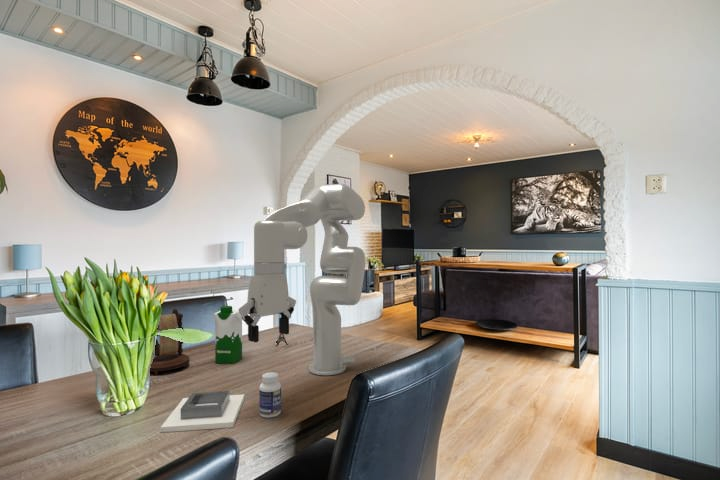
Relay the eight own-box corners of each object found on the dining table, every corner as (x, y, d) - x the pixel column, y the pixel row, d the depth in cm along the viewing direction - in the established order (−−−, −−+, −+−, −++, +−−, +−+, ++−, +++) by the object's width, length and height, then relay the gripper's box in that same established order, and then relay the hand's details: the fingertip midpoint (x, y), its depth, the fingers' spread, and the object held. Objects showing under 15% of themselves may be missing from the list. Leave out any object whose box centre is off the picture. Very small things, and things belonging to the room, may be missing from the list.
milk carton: (211, 364, 133) (211, 307, 133) (223, 356, 142) (223, 303, 142) (235, 364, 132) (235, 308, 132) (245, 356, 141) (245, 303, 141)
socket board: (244, 398, 104) (244, 394, 104) (233, 427, 88) (233, 422, 88) (183, 402, 102) (183, 398, 102) (160, 432, 86) (160, 427, 86)
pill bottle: (275, 419, 92) (275, 379, 92) (255, 417, 93) (255, 377, 93) (284, 409, 97) (284, 371, 97) (265, 407, 98) (265, 370, 98)
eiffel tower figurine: (304, 345, 158) (304, 313, 159) (289, 351, 150) (289, 318, 150) (276, 340, 166) (276, 310, 166) (260, 346, 157) (260, 314, 157)
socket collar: (229, 400, 100) (229, 390, 100) (221, 416, 91) (221, 406, 91) (192, 402, 99) (192, 393, 99) (180, 419, 90) (180, 408, 90)
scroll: (150, 379, 119) (150, 316, 119) (135, 368, 129) (134, 310, 129) (196, 367, 130) (196, 309, 130) (179, 358, 140) (178, 304, 140)
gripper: (285, 267, 104) (285, 329, 104) (230, 271, 90) (230, 342, 90) (304, 268, 100) (304, 332, 99) (249, 272, 86) (249, 347, 86)
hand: (269, 337), depth 95 cm, fingers open, 9 cm apart
